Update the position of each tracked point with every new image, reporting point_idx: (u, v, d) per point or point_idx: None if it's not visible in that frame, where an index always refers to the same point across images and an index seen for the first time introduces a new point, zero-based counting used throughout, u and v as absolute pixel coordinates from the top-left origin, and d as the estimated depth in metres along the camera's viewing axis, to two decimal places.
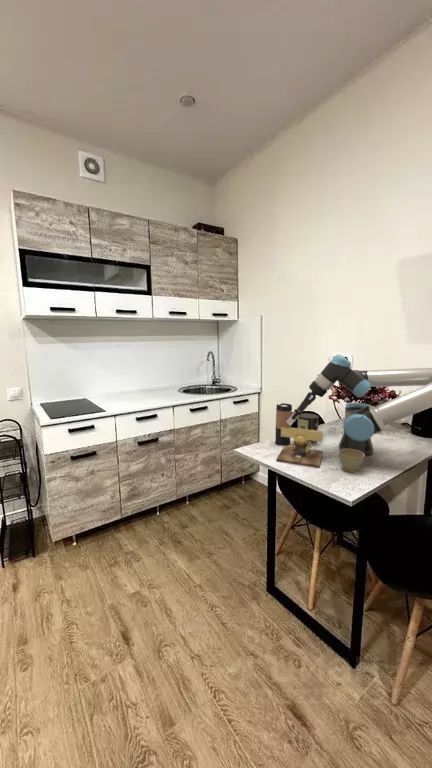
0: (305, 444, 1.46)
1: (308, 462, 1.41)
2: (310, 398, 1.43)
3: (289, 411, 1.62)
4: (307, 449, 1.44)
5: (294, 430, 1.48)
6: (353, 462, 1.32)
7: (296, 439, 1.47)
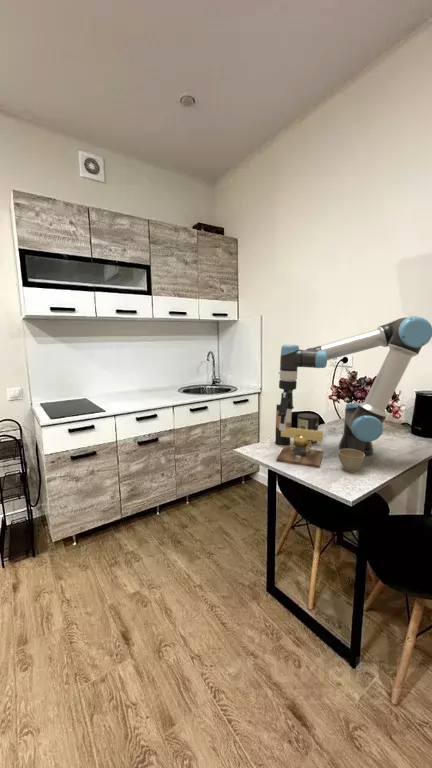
0: (305, 444, 1.46)
1: (308, 462, 1.41)
2: (284, 396, 1.41)
3: None
4: (307, 449, 1.44)
5: (294, 430, 1.48)
6: (353, 462, 1.32)
7: (296, 439, 1.47)
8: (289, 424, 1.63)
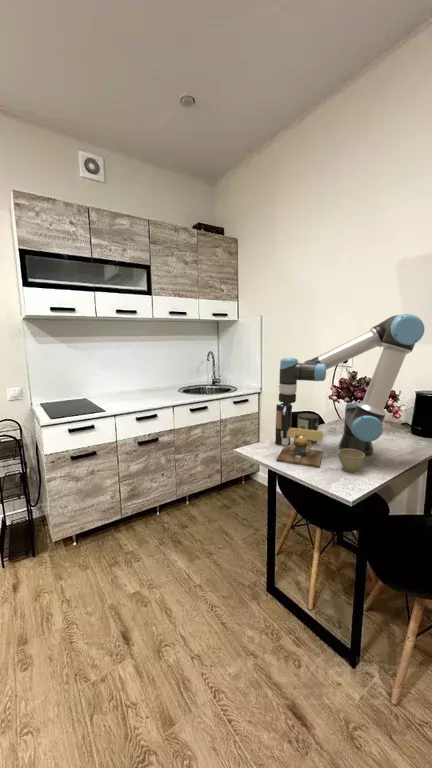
0: (305, 444, 1.46)
1: (308, 462, 1.41)
2: (284, 413, 1.43)
3: None
4: (307, 449, 1.44)
5: (294, 430, 1.48)
6: (353, 462, 1.32)
7: (296, 439, 1.47)
8: None
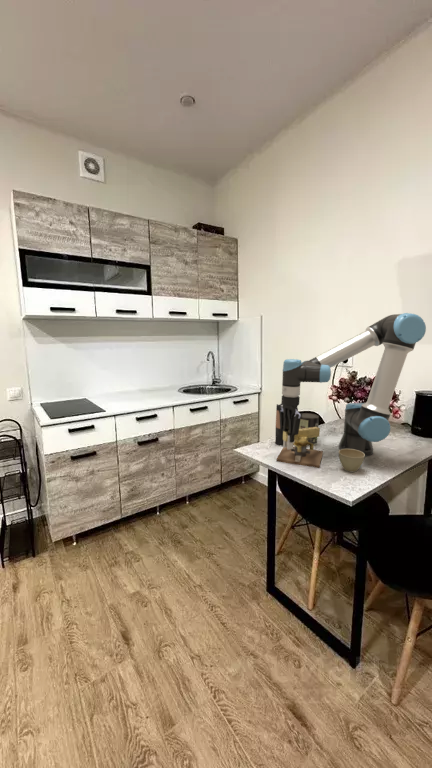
0: (307, 443, 1.48)
1: (308, 462, 1.41)
2: (299, 417, 1.38)
3: None
4: (312, 447, 1.47)
5: None
6: (353, 462, 1.32)
7: (301, 440, 1.45)
8: None
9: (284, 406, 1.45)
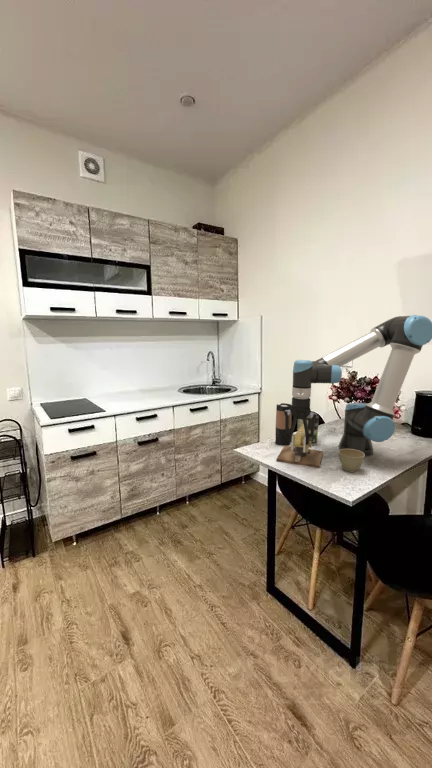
0: None
1: (308, 462, 1.41)
2: (315, 416, 1.38)
3: None
4: None
5: (303, 432, 1.44)
6: (353, 462, 1.32)
7: None
8: (289, 424, 1.63)
9: (294, 409, 1.39)
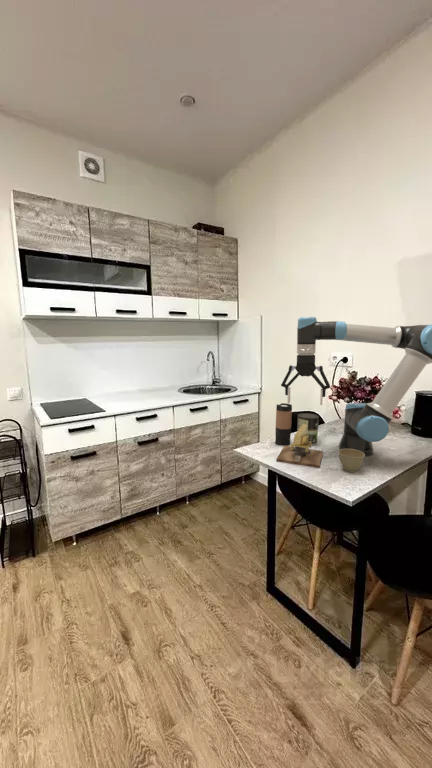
0: None
1: (308, 462, 1.41)
2: (322, 368, 1.39)
3: (289, 411, 1.62)
4: None
5: (303, 432, 1.44)
6: (353, 462, 1.32)
7: (306, 440, 1.46)
8: (289, 424, 1.63)
9: (299, 367, 1.41)
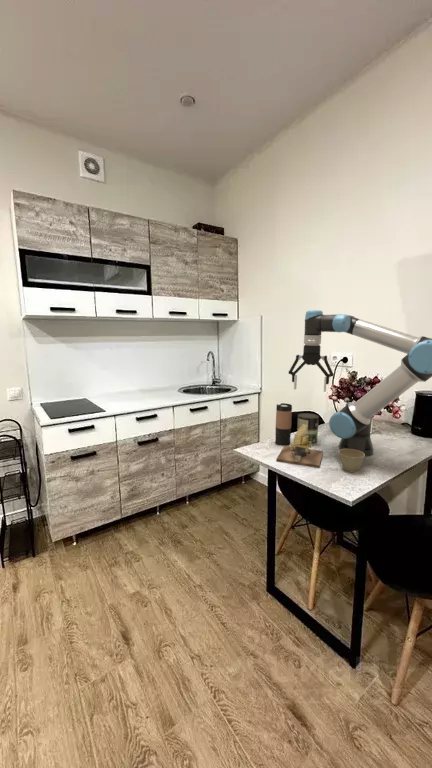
0: None
1: (308, 462, 1.41)
2: None
3: (289, 411, 1.62)
4: None
5: (303, 432, 1.44)
6: (353, 462, 1.32)
7: (306, 440, 1.46)
8: (289, 424, 1.63)
9: (306, 357, 1.54)
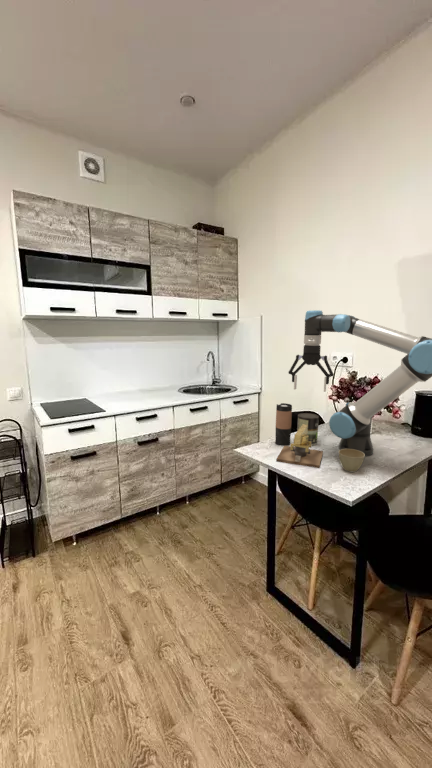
0: None
1: (308, 462, 1.41)
2: None
3: (289, 411, 1.62)
4: None
5: (303, 432, 1.44)
6: (353, 462, 1.32)
7: (306, 440, 1.46)
8: (289, 424, 1.63)
9: (306, 357, 1.54)
